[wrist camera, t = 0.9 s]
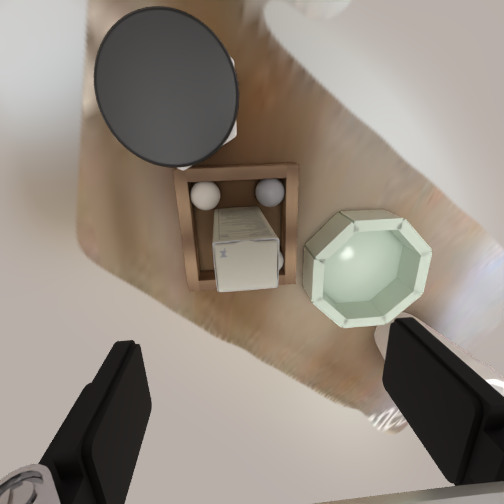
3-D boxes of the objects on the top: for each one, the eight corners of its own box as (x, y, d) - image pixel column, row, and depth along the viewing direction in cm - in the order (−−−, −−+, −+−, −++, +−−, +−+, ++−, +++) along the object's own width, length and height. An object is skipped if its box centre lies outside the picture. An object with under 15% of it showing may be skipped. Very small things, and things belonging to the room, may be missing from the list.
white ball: (255, 243, 33) (258, 253, 30) (281, 242, 33) (286, 251, 30) (256, 267, 34) (258, 278, 31) (281, 265, 34) (286, 276, 31)
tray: (176, 167, 29) (172, 169, 27) (293, 162, 30) (298, 164, 27) (191, 280, 34) (188, 291, 31) (290, 274, 35) (295, 283, 32)
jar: (252, 95, 27) (272, 66, 16) (214, 173, 29) (208, 194, 18) (163, 38, 25) (114, -42, 14) (130, 127, 27) (65, 119, 16)
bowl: (305, 213, 32) (315, 223, 28) (416, 207, 33) (440, 215, 29) (301, 311, 37) (309, 330, 33) (397, 304, 38) (416, 322, 34)
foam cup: (413, 361, 42) (489, 451, 30) (354, 355, 40) (409, 448, 28) (439, 305, 38) (537, 382, 26) (376, 298, 37) (450, 375, 25)
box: (216, 244, 32) (212, 293, 22) (213, 207, 31) (208, 242, 21) (262, 242, 33) (279, 289, 22) (262, 205, 31) (280, 238, 21)
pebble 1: (190, 178, 29) (187, 183, 27) (219, 177, 30) (219, 181, 27) (193, 207, 31) (190, 214, 28) (221, 205, 31) (221, 212, 28)
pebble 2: (253, 176, 30) (256, 179, 27) (281, 174, 30) (287, 178, 27) (254, 204, 31) (257, 210, 28) (281, 202, 31) (287, 209, 28)
